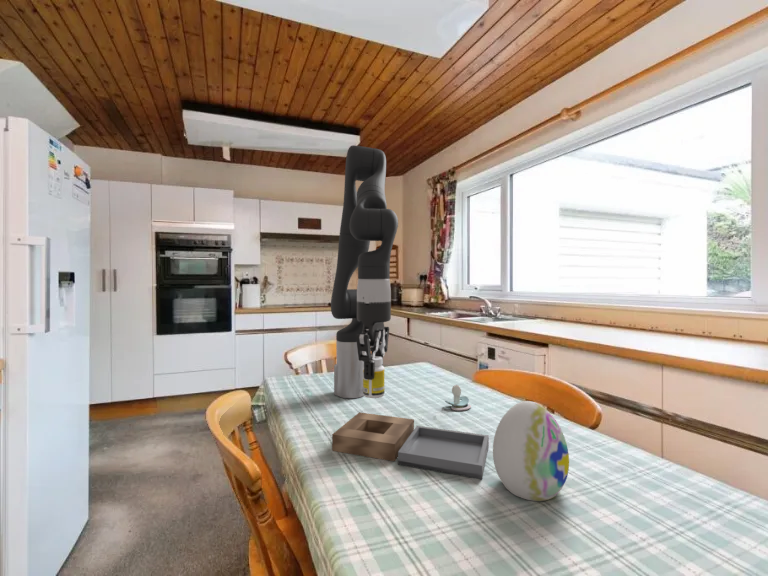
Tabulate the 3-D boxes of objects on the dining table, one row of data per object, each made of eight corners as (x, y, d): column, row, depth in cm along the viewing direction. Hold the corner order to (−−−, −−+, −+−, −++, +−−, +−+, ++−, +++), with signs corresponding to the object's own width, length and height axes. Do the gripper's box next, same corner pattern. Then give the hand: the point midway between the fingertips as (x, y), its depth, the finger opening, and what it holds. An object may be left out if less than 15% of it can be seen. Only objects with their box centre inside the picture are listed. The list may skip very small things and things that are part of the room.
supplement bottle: (387, 393, 85) (387, 356, 85) (380, 399, 80) (380, 360, 80) (367, 391, 86) (367, 354, 86) (359, 397, 82) (359, 359, 82)
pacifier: (476, 409, 105) (461, 402, 110) (476, 387, 105) (461, 381, 110) (456, 414, 101) (442, 407, 106) (457, 391, 101) (442, 385, 106)
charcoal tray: (398, 464, 73) (398, 452, 73) (416, 436, 86) (416, 425, 86) (482, 479, 68) (482, 465, 68) (488, 446, 81) (488, 435, 81)
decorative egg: (553, 519, 56) (554, 420, 56) (480, 489, 65) (480, 402, 64) (578, 486, 65) (578, 401, 65) (511, 463, 74) (511, 387, 73)
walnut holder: (332, 450, 79) (332, 434, 79) (359, 426, 92) (359, 412, 92) (394, 461, 74) (394, 444, 74) (413, 434, 88) (413, 419, 88)
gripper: (370, 297, 91) (370, 367, 91) (344, 301, 77) (344, 382, 78) (400, 298, 88) (399, 369, 89) (377, 302, 75) (377, 386, 75)
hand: (373, 375), depth 83 cm, fingers closed on supplement bottle, 4 cm apart
